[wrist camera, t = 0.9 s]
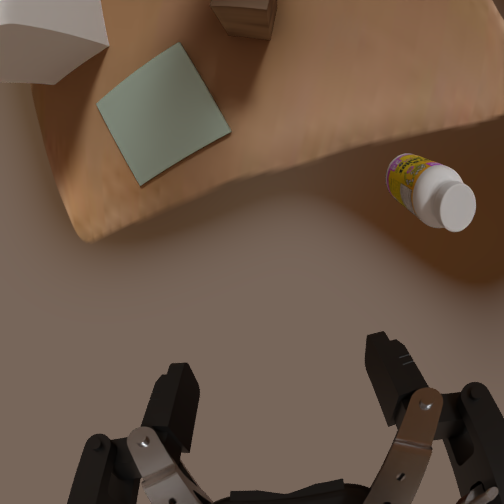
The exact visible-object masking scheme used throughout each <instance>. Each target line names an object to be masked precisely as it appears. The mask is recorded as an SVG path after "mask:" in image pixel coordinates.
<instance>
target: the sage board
mask: <svg viewBox="0 0 504 504" xmlns="http://www.w3.org/2000/svg"><path fill="white" fill-rule="evenodd" d="M96 105H97V107H98V109H99V111H100V113H101V115H102V117H103V119H104V120H105V122H106V124H107V126H108V128H109V130H110V132H111V134H112V136H113V138H114V140H115V142H116V143H117V145H118V147H119V149H120V151H121V153H122V154H123V156H124V158H125V160H126V162H127V164H128V165H129V167H130V169H131V171H132V172H133V174H134V176H135V178H136V179H137V181H138V183H139V185H140V186H141V185H143V184H144V183H146V182H147V181H149V180H150V179H152V178H153V177H155V176H156V175H158V174H159V173H161V172H163V171H164V170H166V169H167V168H169V167H171V166H172V165H174V164H175V163H177V162H179V161H180V160H182V159H184V158H185V157H187V156H189V155H190V154H192V153H194V152H196V151H197V150H199V149H201V148H203V147H204V146H206V145H208V144H210V143H212V142H213V141H215V140H217V139H219V138H221V137H223V136H224V135H226V134H228V133H230V132H232V131H231V129H230V128H229V126H228V124H227V122H226V120H225V119H224V117H223V115H222V113H221V111H220V110H219V108H218V106H217V104H216V102H215V101H214V99H213V97H212V95H211V94H210V92H209V90H208V88H207V87H206V85H205V83H204V82H203V80H202V78H201V76H200V75H199V73H198V71H197V70H196V68H195V66H194V65H193V63H192V61H191V59H190V58H189V56H188V54H187V53H186V51H185V49H184V48H183V46H182V45H181V43H180V42H178V43H176V44H175V45H173V46H172V47H170V48H168V49H167V50H165V51H164V52H162V53H161V54H159V55H158V56H156V57H155V58H153V59H152V60H150V61H149V62H148V63H146V64H145V65H143V66H142V67H141V68H139V69H138V70H137V71H135V72H134V73H133V74H131V75H130V76H129V77H127V78H126V79H125V80H124V81H122V82H121V83H120V84H119V85H117V86H116V87H115V88H114V89H113V90H111V91H110V92H109V93H108V94H107V95H106V96H104V97H103V98H102V99H101V100H100V101H99V102H98V103H97V104H96Z"/></svg>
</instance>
